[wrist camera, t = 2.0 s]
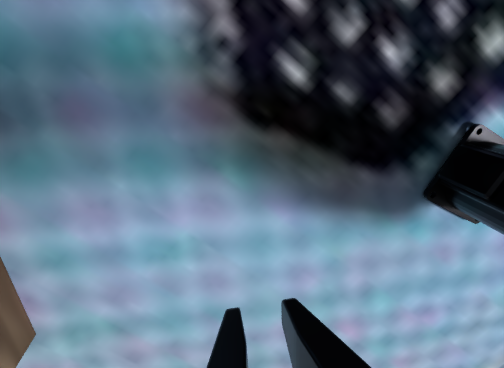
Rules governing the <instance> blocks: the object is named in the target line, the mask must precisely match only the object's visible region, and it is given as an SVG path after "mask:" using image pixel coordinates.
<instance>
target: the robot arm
mask: <svg viewBox="0 0 504 368" xmlns="http://www.w3.org/2000/svg"><path fill="white" fill-rule="evenodd" d="M476 131H477V132H476ZM431 193H432V194H431ZM424 197H425V198H426V199H427V200H429V201H431V202H433V203H435V204H437V205H439V206H441V207H443V208H445V209H447V210H449V211H451V212H453V213H455V214H457V215H459V216H461V217H463V218H465V219H466V220H468V221H470V222H472V223H475V224H477V223H479V222H482V223H483V224H485V225H487V226H489V227H491V228H492V229H494V230H496V231H498V232H500V233H502V234H503V235H504V139H503V138H502V137H500V136H499V135H497V134H496V133H494V132H493V131H491V130H490V129H488V128H487V127H485V126H484V125H481V124H474V125H472V126H471V127H470V129H469V130H468V131H467V133H466V134H465V136H464V137H463V138H462V140H461V141H460V143H459V144H458V145H457V147H456V148H455V150H454V151H453V152H452V154H451V155H450V157H449V158H448V159H447V161H446V162H445V164H444V165H443V166H442V168H441V169H440V171H439V172H438V173H437V175H436V176H435V177H434V179H433V180H432V182H431V183H430V184H429V186H428V187H427V189H426V190H425V192H424ZM281 307H282V326H283V330H284V334H285V338H286V342H287V347H288V351H289V355H290V359H291V363H292V367H293V368H371V367H370V366H369V365H368V364H367V363H366V362H365V361H364V360H363V359H361V358H360V357H359V356H358V355H357V354H356V353H355V352H354V351H353V350H352V349H350V348H349V347H348V346H347V345H346V344H345V343H344V342H343V341H342V340H341V339H339V338H338V337H337V336H336V335H335V334H334V333H333V332H332V331H331V330H330V329H328V328H327V327H326V326H325V325H324V324H323V323H322V322H321V321H320V320H319V319H318V318H316V317H315V316H314V315H313V314H312V313H311V312H310V311H309V310H308V309H307V308H305V307H304V306H303V305H302V304H301V303H300V302H299V301H298V300H297V299H295V298H290V299H284V300H283V301H282V303H281ZM207 368H248V359H247V346H246V338H245V333H244V327H243V322H242V317H241V311H240V308H238V307H237V308H231V309H227V310H226V311H225V314H224V317H223V320H222V323H221V326H220V329H219V332H218V335H217V338H216V341H215V344H214V347H213V350H212V353H211V356H210V359H209V362H208V365H207Z"/></svg>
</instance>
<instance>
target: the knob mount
mask: <svg viewBox="0 0 504 368" xmlns="http://www.w3.org/2000/svg"><path fill="white" fill-rule="evenodd" d="M35 335H36V333H35V331H34V329H33V327H32V324H31V322H30V320H29V318H28V316H27V314H26V311H25V309H24V307H23V305H22V303H21V301H20V298H19V296H18V294H17V292H16V290H15V288H14V285H13V283H12V281H11V279H10V277H9V275H8V272H7V270H6V268H5V266H4V264H3V262H2V259H1V257H0V368H16V366H17V365H18V363H19V361H20V360H21V358H22V356H23V355H24V353H25V352H26V350H27V348H28V347H29V345H30V343H31V342H32V340H33V338H34V337H35Z"/></svg>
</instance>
